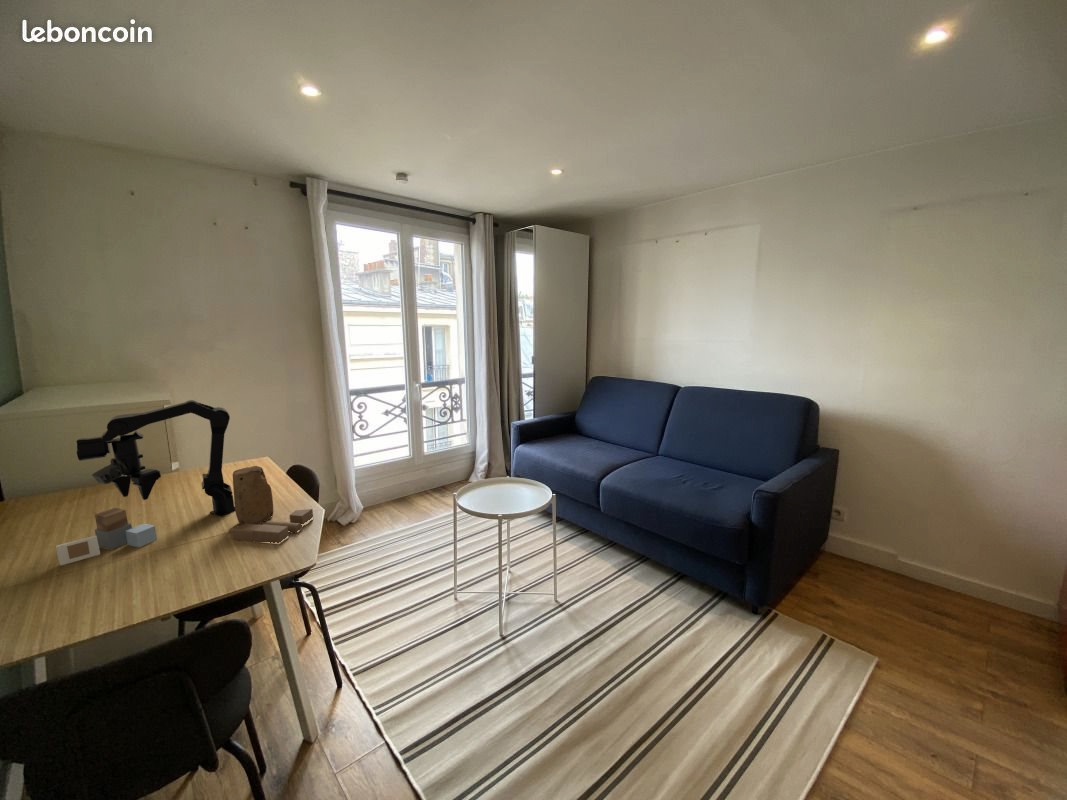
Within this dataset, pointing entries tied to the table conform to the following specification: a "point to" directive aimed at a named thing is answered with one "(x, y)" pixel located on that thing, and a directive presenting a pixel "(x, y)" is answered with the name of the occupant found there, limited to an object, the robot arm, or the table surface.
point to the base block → (112, 537)
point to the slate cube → (141, 535)
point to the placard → (78, 550)
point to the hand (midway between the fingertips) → (135, 497)
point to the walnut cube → (111, 519)
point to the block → (252, 495)
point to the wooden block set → (272, 528)
